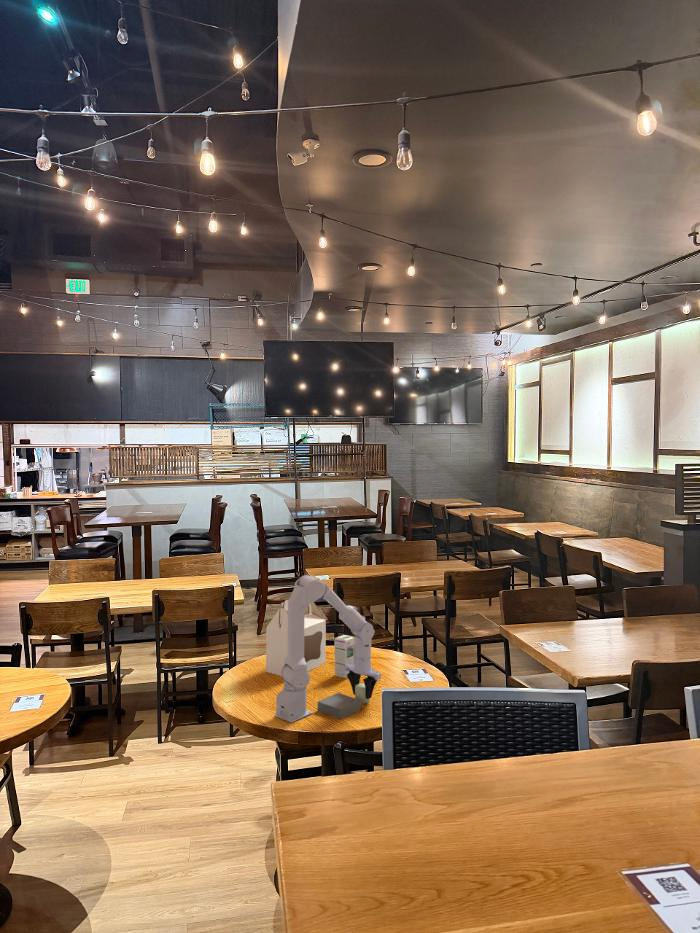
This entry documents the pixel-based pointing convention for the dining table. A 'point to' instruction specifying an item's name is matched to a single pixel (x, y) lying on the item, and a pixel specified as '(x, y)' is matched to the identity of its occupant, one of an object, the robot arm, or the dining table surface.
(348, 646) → the syrup box
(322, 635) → the gable box
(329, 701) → the charcoal plinth
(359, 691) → the green cylinder
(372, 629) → the robot arm
